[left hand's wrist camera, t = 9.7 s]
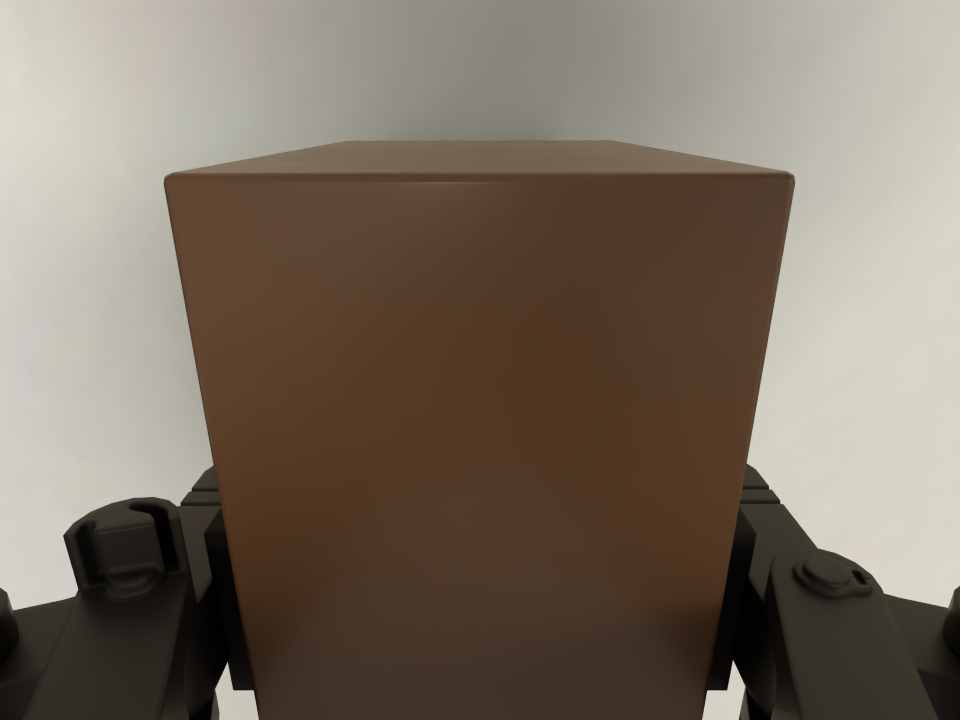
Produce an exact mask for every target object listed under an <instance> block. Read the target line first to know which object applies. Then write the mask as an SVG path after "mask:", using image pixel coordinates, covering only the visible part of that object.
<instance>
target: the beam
mask: <svg viewBox="0 0 960 720" xmlns="http://www.w3.org/2000/svg"><path fill="white" fill-rule="evenodd" d="M794 186H795V178H794V175H793V174H791V173H789V172H786V171H781V170H775V169H769V168H764V167H758V166H752V165H747V164H741V163H735V162H730V161H724V160H718V159H713V158H707V157H701V156H696V155H690V154H685V153H679V152H673V151H668V150H662V149H656V148H651V147H645V146H639V145H634V144H628V143H622V142H617V141H345V142H340V143H334V144H329V145H323V146H318V147H312V148H307V149H301V150H296V151H290V152H285V153H279V154H274V155H268V156H263V157H257V158H252V159H246V160H241V161H235V162H230V163H224V164H219V165H213V166H208V167H202V168H196V169H191V170H185V171H180V172H174V173H171V174H169V175H167V176H165V179H164V188H165V194H166V199H167V205H168V210H169V216H170V222H171V227H172V233H173V239H174V244H175V250H176V255H177V261H178V267H179V272H180V278H181V284H182V289H183V295H184V300H185V306H186V312H187V317H188V323H189V329H190V334H191V340H192V345H193V351H194V357H195V362H196V368H197V374H198V379H199V385H200V390H201V396H202V402H203V407H204V413H205V419H206V424H207V430H208V435H209V441H210V447H211V452H212V458H213V464H214V469H215V475H216V480H217V486H218V492H219V497H220V503H221V508H222V514H223V520H224V525H225V531H226V537H227V542H228V548H229V553H230V559H231V565H232V570H233V576H234V582H235V587H236V593H237V598H238V604H239V610H240V615H241V621H242V627H243V632H244V638H245V643H246V649H247V655H248V660H249V666H250V672H251V677H252V683H253V688H254V694H255V700H256V705H257V711H258V717H259V720H702V717H703V711H704V706H705V700H706V694H707V688H708V683H709V677H710V671H711V665H712V660H713V654H714V648H715V642H716V636H717V631H718V625H719V619H720V613H721V608H722V602H723V596H724V590H725V585H726V579H727V573H728V567H729V561H730V556H731V550H732V544H733V538H734V533H735V527H736V521H737V515H738V509H739V504H740V498H741V492H742V486H743V481H744V475H745V469H746V463H747V458H748V452H749V446H750V440H751V434H752V429H753V423H754V417H755V411H756V406H757V400H758V394H759V388H760V383H761V377H762V371H763V365H764V359H765V354H766V348H767V342H768V336H769V331H770V325H771V319H772V313H773V307H774V302H775V296H776V290H777V284H778V279H779V273H780V267H781V261H782V256H783V250H784V244H785V238H786V232H787V227H788V221H789V215H790V209H791V204H792V198H793V192H794Z"/></svg>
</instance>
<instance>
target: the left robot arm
mask: <svg viewBox="0 0 960 720" xmlns="http://www.w3.org/2000/svg"><path fill="white" fill-rule="evenodd" d="M63 537H64V541H65V544H66V548H67V551H68V555H69V558H70V561H71V565H72V568H73V572H74V575H75V579H76V582H77V586H78V592H77V594H76V596H75V597H72V598H68V599H65V600H61V601H56V602H51V603H46V604H42V605H37V606H32V607H28V608H23V609H18V610H14V611H13V609H12V606H11V603H10V600H9V597H8V595H7V592H5V591H4V590H3V589H1V588H0V720H219V708H218V701H217V696H216V691H215V688H216V686H217V684H218V682H219V679H220V677H221V675H222V673H223V671H224V669H225V666H226V664H227V662H228V665H229V670H230V676H231V681H232V686H233V690H254V688H253V683H252V677H251V672H250V666H249V660H248V655H247V649H246V643H245V638H244V632H243V627H242V621H241V615H240V610H239V604H238V598H237V593H236V587H235V582H234V576H233V570H232V565H231V559H230V553H229V548H228V542H227V537H226V531H225V525H224V520H223V514H222V508H221V503H220V497H219V492H218V486H217V480H216V475H215V469H214V466H212V467H211V468H209V469H208V470H206V471H205V472H204V473H203V475H202V476H201V477H200V478H199V480H198V481H197V482H196V484H195V485H194V486H193V487H192V492H189V493H188V494H187V495H186V496H185V498H184V499H183V500H182V502H181V506H178V507H177V506H175V505H174V504H173V503H172V502H170V501H169V500H165V499H160V498H155V497H146V498H132V499H128V500H123V501H119V502H115V503H111V504H109V505H106V506H104V507H101V508H99V509H97V510H94V511H92V512H90V513H88V514H87V515H85V516H84V517H82V518H81V519H79V520H78V521H76V522H75V523H73V525H72V526H71V527H70V528H69V529H68V530H67V532H66V533H65V534H64V535H63ZM733 660H734V663H735V665H736V667H737V669H738V671H739V673H740V675H741V678H742V680H743V682H744V684H745V691H744V696H743V701H742V706H741V711H740V716H739V720H960V586H959V587H958V588H957V589H955V590H954V593H953V596H952V599H951V602H950V605H949V608H945V607H941V606H936V605H931V604H927V603H922V602H917V601H912V600H908V599H903V598H898V597H895V596H891V595H887V594H884V593H883V590H882V588H881V587H880V586H879V584H878V583H877V581H876V580H875V579H874V577H873V576H872V575H871V574H870V573H869V572H867V571H866V570H865V569H863V568H862V567H861V566H859V565H858V564H857V563H855V562H853V561H851V560H849V559H847V558H845V557H843V556H840V555H838V554H836V553H833V552H829V551H825V550H822V549H818V548H817V547H816V546H815V544H814V543H813V542H812V541H811V539H810V538H809V537H808V535H807V534H806V533H805V532H804V530H803V529H802V528H801V526H800V525H799V524H798V523H797V521H796V520H795V519H794V518H793V516H792V515H791V514H790V512H789V511H788V510H787V509H786V507H785V506H784V505H783V504H780V500H779V498H778V497H777V496H776V495H775V493H774V492H773V491H772V490H769V486H768V484H767V483H766V482H765V481H764V479H763V478H762V477H761V475H760V474H759V473H758V472H757V470H756V469H754V468H753V467H751V466H750V465H748V464H747V463H746V469H745V475H744V481H743V486H742V492H741V498H740V504H739V509H738V515H737V521H736V527H735V533H734V538H733V544H732V550H731V556H730V561H729V567H728V573H727V579H726V585H725V590H724V596H723V602H722V608H721V613H720V619H719V625H718V631H717V636H716V642H715V648H714V654H713V660H712V665H711V671H710V677H709V683H708V688H707V690H727V688H728V683H729V678H730V673H731V667H732V662H733Z"/></svg>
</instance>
